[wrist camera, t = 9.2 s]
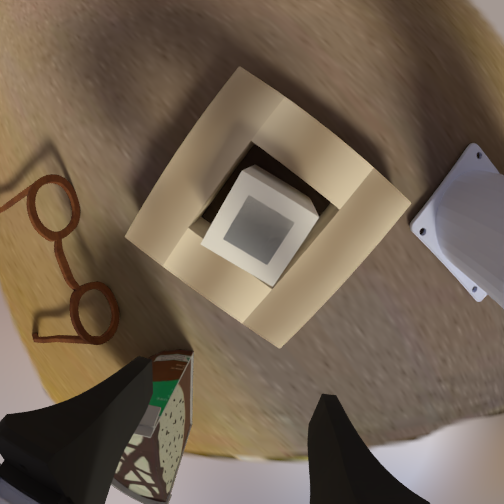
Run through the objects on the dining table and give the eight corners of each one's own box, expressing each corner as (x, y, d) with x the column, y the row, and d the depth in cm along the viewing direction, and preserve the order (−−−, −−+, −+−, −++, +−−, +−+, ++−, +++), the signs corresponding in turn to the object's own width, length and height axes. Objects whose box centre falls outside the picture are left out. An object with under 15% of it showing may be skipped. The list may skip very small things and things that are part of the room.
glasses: (128, 321, 25) (100, 355, 20) (36, 335, 27) (8, 360, 22) (72, 168, 21) (29, 177, 16) (-11, 218, 24) (-46, 231, 19)
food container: (122, 320, 24) (57, 398, 15) (194, 336, 24) (149, 431, 14) (135, 417, 28) (98, 490, 19) (192, 433, 28) (165, 513, 18)
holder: (394, 195, 19) (411, 203, 16) (281, 325, 23) (279, 348, 20) (246, 77, 18) (239, 66, 15) (144, 225, 21) (124, 236, 19)
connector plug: (309, 197, 20) (319, 217, 14) (276, 248, 21) (272, 286, 15) (255, 164, 20) (241, 170, 14) (223, 217, 21) (200, 244, 15)
